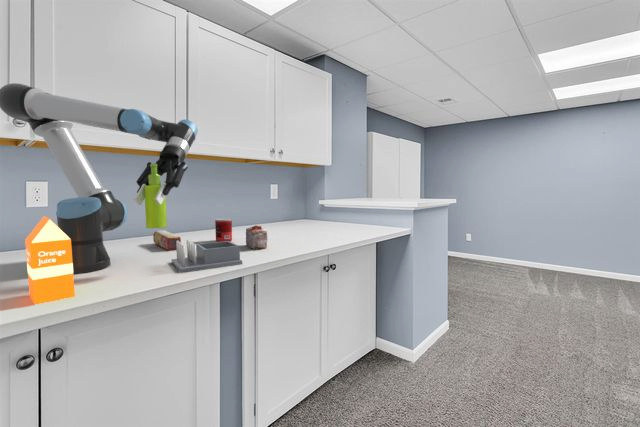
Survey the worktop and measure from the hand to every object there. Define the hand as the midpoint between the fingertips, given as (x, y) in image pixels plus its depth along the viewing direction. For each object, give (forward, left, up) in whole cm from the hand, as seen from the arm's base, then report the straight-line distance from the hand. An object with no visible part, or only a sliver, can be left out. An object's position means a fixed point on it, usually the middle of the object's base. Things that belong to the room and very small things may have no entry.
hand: (147, 201), depth 97 cm
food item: (+44, +22, -23) cm, 55 cm away
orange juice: (-23, -9, -23) cm, 34 cm away
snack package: (+11, +45, -23) cm, 52 cm away
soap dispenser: (+2, +3, -9) cm, 9 cm away
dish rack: (+18, +4, -23) cm, 29 cm away
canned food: (+37, +45, -23) cm, 63 cm away
